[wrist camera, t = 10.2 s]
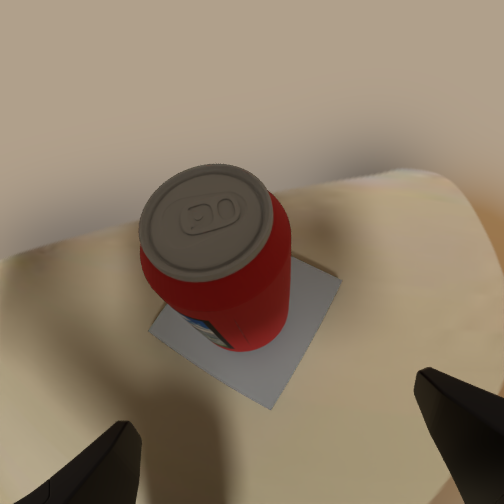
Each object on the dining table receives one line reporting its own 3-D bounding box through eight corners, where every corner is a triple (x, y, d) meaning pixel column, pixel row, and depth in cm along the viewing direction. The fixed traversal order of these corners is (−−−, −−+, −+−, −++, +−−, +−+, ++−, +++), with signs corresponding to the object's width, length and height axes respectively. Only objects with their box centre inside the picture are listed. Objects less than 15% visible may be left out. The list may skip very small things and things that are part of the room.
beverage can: (192, 281, 23) (124, 179, 13) (274, 258, 23) (263, 138, 13) (208, 363, 20) (126, 317, 9) (300, 339, 20) (319, 265, 9)
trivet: (271, 409, 19) (270, 410, 18) (153, 334, 22) (147, 331, 21) (340, 285, 23) (342, 280, 22) (225, 231, 26) (223, 224, 25)
